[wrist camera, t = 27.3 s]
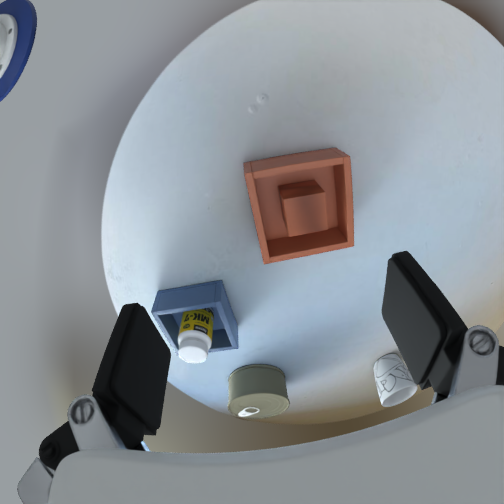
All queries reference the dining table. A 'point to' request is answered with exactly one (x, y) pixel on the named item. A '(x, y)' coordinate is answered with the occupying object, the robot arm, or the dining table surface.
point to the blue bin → (192, 298)
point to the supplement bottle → (195, 335)
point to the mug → (393, 380)
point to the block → (303, 207)
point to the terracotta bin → (291, 171)
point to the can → (257, 392)
